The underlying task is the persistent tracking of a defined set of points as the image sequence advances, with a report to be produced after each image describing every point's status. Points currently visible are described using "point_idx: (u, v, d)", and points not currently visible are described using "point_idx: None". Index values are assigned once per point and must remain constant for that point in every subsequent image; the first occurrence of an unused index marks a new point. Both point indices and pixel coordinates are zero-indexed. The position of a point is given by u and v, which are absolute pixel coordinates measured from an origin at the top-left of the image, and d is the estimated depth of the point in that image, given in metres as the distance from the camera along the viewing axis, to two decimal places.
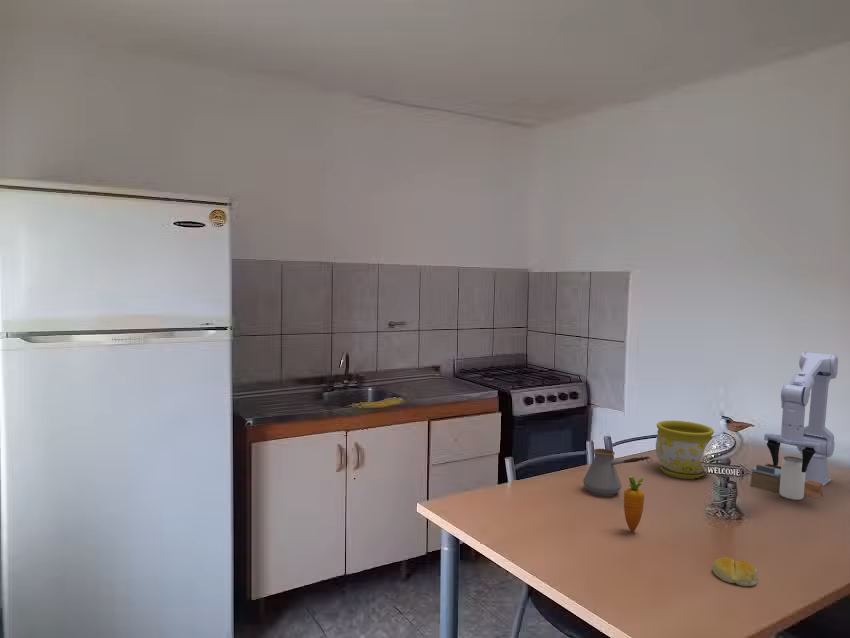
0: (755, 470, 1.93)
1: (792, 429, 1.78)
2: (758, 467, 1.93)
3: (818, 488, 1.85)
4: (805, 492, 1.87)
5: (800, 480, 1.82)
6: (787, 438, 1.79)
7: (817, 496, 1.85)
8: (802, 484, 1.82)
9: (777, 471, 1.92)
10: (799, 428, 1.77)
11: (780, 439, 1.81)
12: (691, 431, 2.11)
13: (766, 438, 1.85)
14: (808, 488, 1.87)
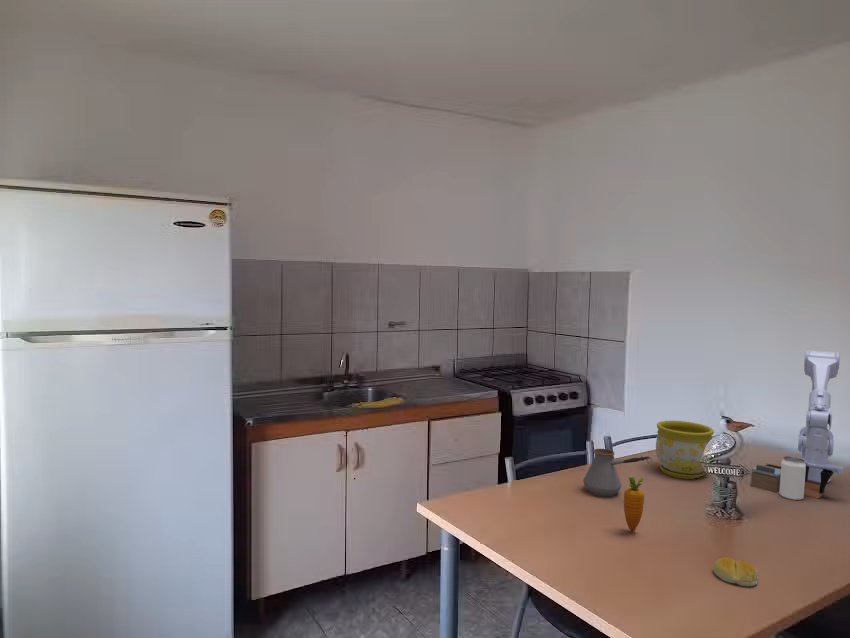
0: (755, 470, 1.93)
1: (816, 453, 1.84)
2: (758, 467, 1.93)
3: (818, 488, 1.85)
4: (805, 492, 1.87)
5: (800, 480, 1.82)
6: (811, 461, 1.85)
7: (817, 496, 1.85)
8: (802, 484, 1.82)
9: (777, 471, 1.92)
10: (823, 452, 1.84)
11: (804, 462, 1.87)
12: (691, 431, 2.11)
13: None
14: (808, 488, 1.87)
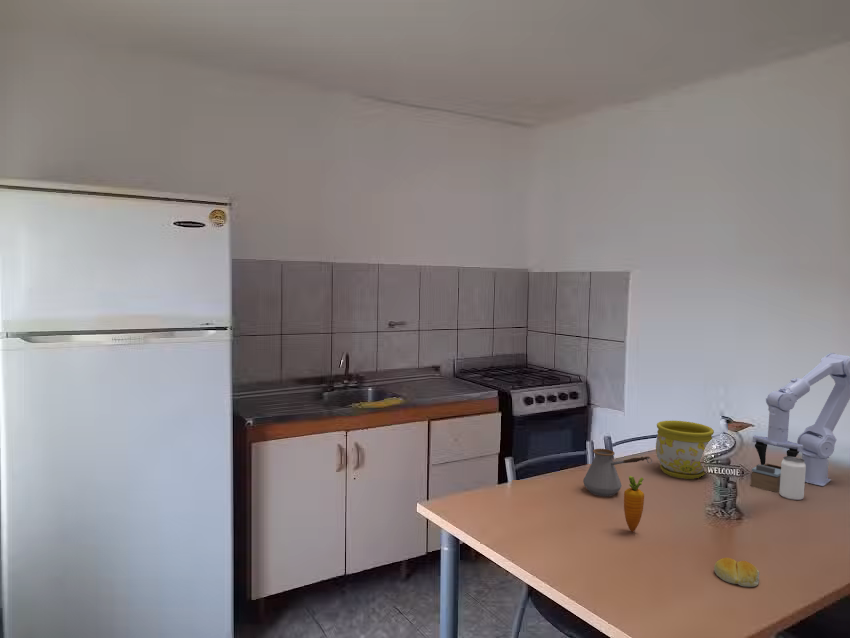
0: (755, 470, 1.93)
1: (777, 432, 1.95)
2: (758, 467, 1.93)
3: None
4: None
5: (800, 480, 1.82)
6: (773, 440, 1.96)
7: None
8: (802, 484, 1.82)
9: (777, 471, 1.92)
10: (784, 431, 1.95)
11: (767, 441, 1.98)
12: (691, 431, 2.11)
13: (754, 440, 2.02)
14: None
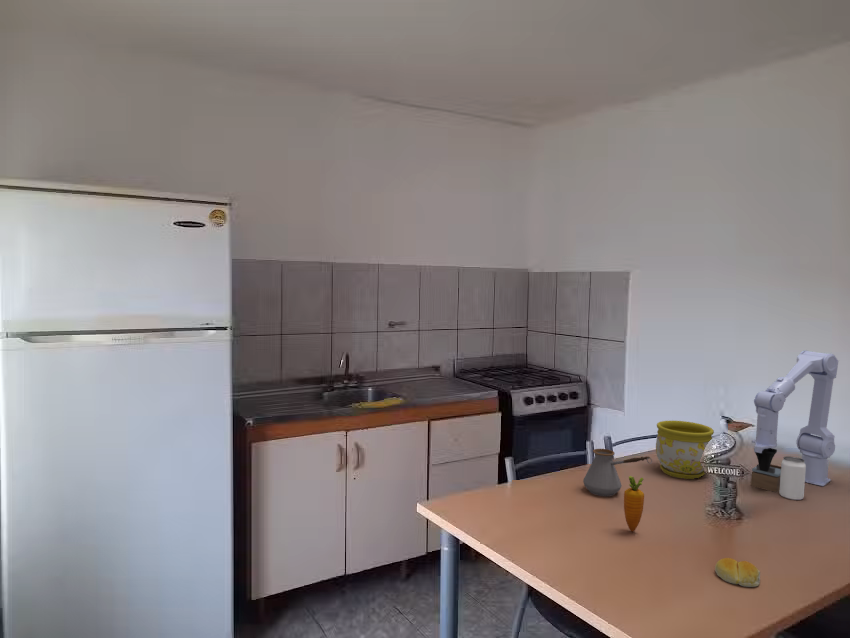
0: (755, 470, 1.93)
1: None
2: (758, 467, 1.93)
3: None
4: None
5: (800, 480, 1.82)
6: None
7: None
8: (802, 484, 1.82)
9: (777, 471, 1.92)
10: (758, 430, 1.90)
11: None
12: (691, 431, 2.11)
13: None
14: None
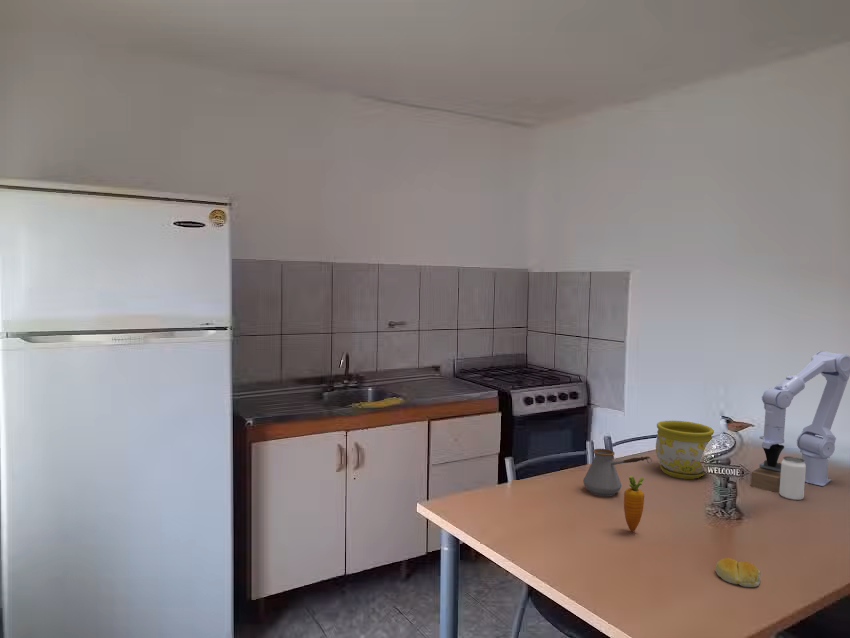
0: (763, 466, 1.98)
1: (764, 427, 1.96)
2: (766, 463, 1.98)
3: None
4: None
5: (800, 480, 1.82)
6: None
7: None
8: (802, 484, 1.82)
9: None
10: (766, 427, 1.94)
11: None
12: (691, 431, 2.11)
13: None
14: None
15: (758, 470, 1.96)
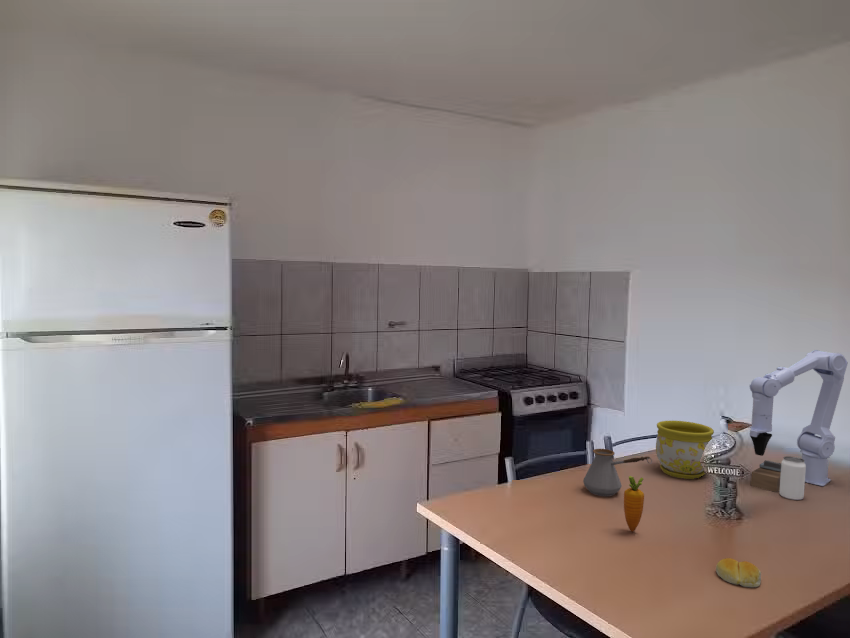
0: (763, 466, 1.98)
1: (752, 415, 1.96)
2: (766, 463, 1.97)
3: None
4: None
5: (800, 480, 1.82)
6: None
7: None
8: (802, 484, 1.82)
9: None
10: (754, 415, 1.94)
11: None
12: (691, 431, 2.11)
13: None
14: None
15: (758, 470, 1.96)
